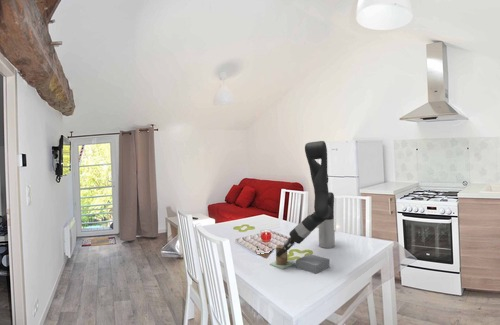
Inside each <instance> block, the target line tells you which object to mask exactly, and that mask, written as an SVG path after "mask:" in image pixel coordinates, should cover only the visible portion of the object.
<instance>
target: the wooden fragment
mask: <svg viewBox="0 0 500 325" xmlns="http://www.w3.org/2000/svg"><path fill="white" fill-rule="evenodd" d="M272 252H273V250H272V251H271V252H269V253H264V254H261V253H260V254H257V253H256V255H257V256H259V257H262V258H263V259H268V258H269V256H270V255H271V253H272Z"/></svg>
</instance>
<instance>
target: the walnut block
mask: <svg viewBox="0 0 500 325" xmlns="http://www.w3.org/2000/svg"><path fill="white" fill-rule="evenodd" d="M283 245H284V244H277V246H276V247H275V261H276V265H285V266H286V264H287V262H289V261H288V250H287V251H286V252H285V253H283V254H282V255H281V256H280V257H278V256H277V255H276V253H277V252H278V251H280V250H281V248H282V247H283ZM284 250H286V248H284Z"/></svg>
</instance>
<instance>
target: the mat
mask: <svg viewBox="0 0 500 325" xmlns="http://www.w3.org/2000/svg"><path fill="white" fill-rule="evenodd" d="M269 265H270V266H272V267H275V268H278V269H282V270H284V269H287V268H289V267H291V266H293V265H295V263H294V262H291V261H288V262H287V264H286V266H285V265H276V260H275V261H273V262H271V263H269Z"/></svg>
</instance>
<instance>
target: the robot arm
mask: <svg viewBox="0 0 500 325" xmlns="http://www.w3.org/2000/svg"><path fill="white" fill-rule="evenodd" d="M304 152H305V157H306V160H307V163H308V167H309V171H310V177H311V182H312V187H313V192H314V203H313V204H314V209H313V210H314V212H313V213H311V214H309V215H307V216H305V218H303V220H302V221H301V222H300V223H297V225H296V226H295V227H294V228H293V229H291V231H289V237H288V238H287V239H286V240H285V242H284V243H283V244H282V245H283V247H282V248H281V250H280V251H278V252H277V253H276V252H275V256H276V255H277V256H278V257H280V256H281V255H282V254H283V253H285V252H286V251H287V252H288V250H290V249H291V248H292V247H293V246H294V245H295V243H296V244H298V245H300V244H301V243H302V242H303V241H304V240H305V239H307V237H309V236H310V234H311V233H312V232H313V231H315V229H316V228H317V227H318V246H319V247H320V248H323V249H331V248H335V246H336V245H335V243H336V242H335V240H336V236H335V235H336V233H335V213H334V212H335V211H334V210H335V194H334V193H333V192H331V191H330V192H329V187H328V186H329V175H328V148H327V144H326V142H325V141H324V140H318V141H317V140H316V141H312V142H311V141H309V142H307V143H305V145H304ZM317 160H321V161H320V163H319V162H318V161H317ZM284 248H286V250H284Z"/></svg>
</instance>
